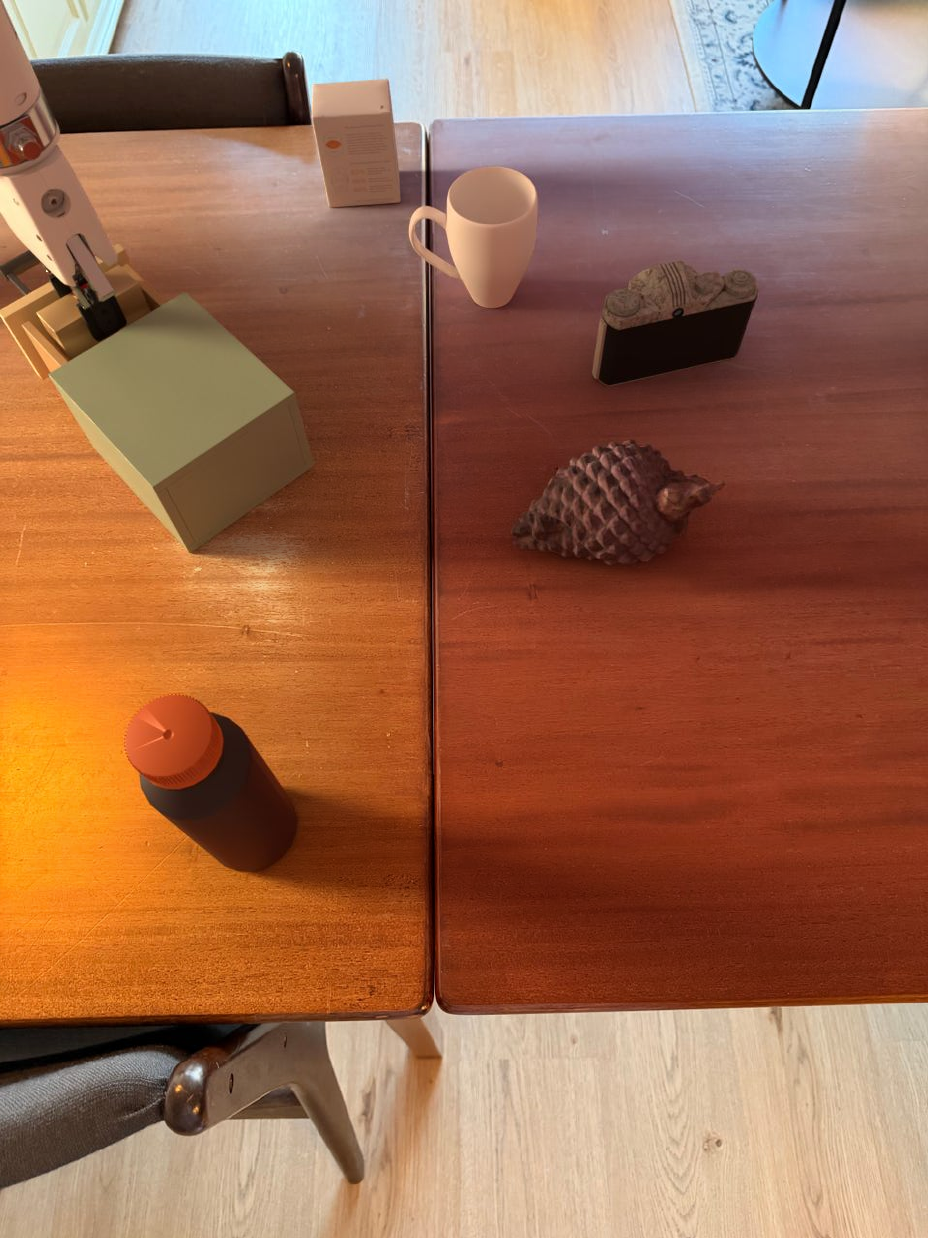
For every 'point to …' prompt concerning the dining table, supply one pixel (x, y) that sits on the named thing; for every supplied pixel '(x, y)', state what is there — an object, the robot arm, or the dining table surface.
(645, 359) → the camera
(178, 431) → the cabinet
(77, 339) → the tan rectangular block
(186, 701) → the bottle
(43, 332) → the drawer
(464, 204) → the mug
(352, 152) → the small box
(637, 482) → the pine cone
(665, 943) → the dining table surface
